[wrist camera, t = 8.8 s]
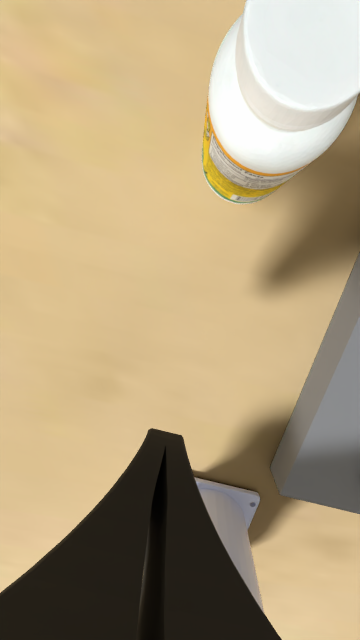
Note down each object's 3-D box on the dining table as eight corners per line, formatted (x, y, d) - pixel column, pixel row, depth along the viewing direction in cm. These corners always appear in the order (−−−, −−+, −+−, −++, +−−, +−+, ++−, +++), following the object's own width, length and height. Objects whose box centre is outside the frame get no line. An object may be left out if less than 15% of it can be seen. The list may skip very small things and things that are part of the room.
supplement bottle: (243, 223, 17) (310, 184, 7) (182, 163, 16) (171, 36, 7) (307, 153, 15) (482, 0, 6) (244, 85, 15) (336, -204, 5)
